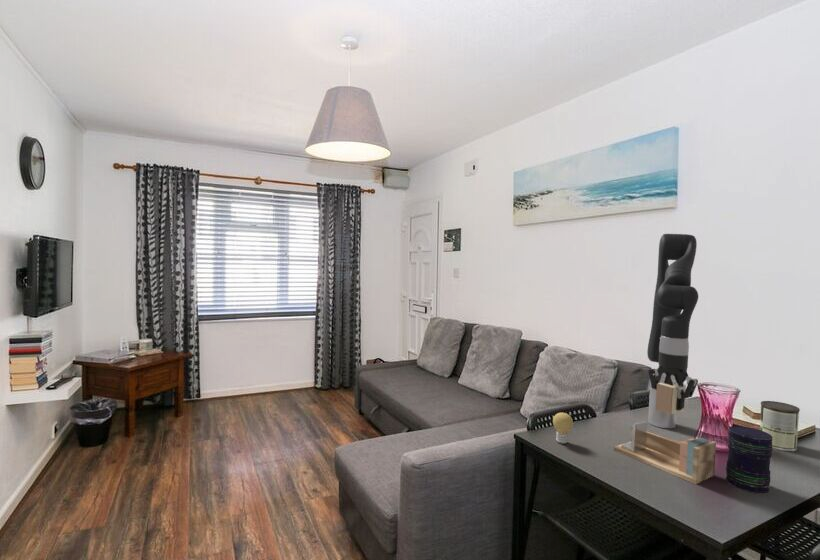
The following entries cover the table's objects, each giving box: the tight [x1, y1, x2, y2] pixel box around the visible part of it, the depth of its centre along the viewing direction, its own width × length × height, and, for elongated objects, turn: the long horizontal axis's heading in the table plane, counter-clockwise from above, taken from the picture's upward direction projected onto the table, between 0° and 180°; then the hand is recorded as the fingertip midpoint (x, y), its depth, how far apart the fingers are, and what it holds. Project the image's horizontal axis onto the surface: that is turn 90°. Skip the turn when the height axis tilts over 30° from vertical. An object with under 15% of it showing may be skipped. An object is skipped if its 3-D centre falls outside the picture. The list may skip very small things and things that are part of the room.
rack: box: [613, 426, 717, 485], centre depth 133 cm, size 10×25×10 cm, turn 31°
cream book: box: [655, 383, 687, 415], centre depth 130 cm, size 7×4×8 cm, turn 119°
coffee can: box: [759, 400, 801, 452], centre depth 150 cm, size 10×10×14 cm
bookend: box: [620, 420, 649, 452], centre depth 141 cm, size 7×4×9 cm, turn 121°
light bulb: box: [552, 412, 574, 444], centre depth 146 cm, size 6×6×10 cm
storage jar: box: [725, 425, 773, 495], centre depth 120 cm, size 10×10×15 cm
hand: (670, 406), depth 130 cm, fingers closed on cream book, 4 cm apart
